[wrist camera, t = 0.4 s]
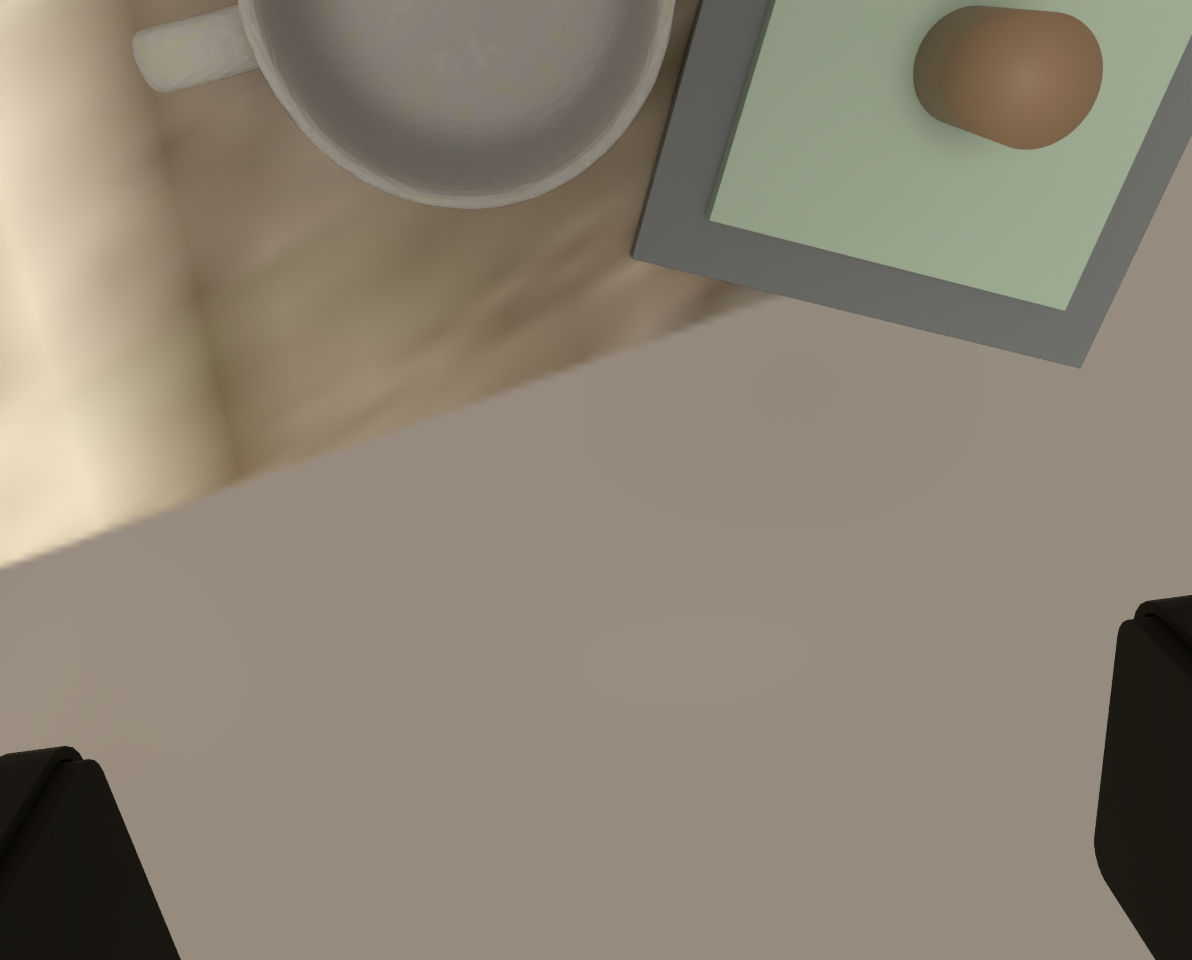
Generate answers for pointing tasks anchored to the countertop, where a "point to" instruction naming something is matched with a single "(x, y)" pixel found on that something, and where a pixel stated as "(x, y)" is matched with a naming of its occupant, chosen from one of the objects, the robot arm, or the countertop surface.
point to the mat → (856, 285)
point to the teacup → (435, 84)
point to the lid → (949, 131)
